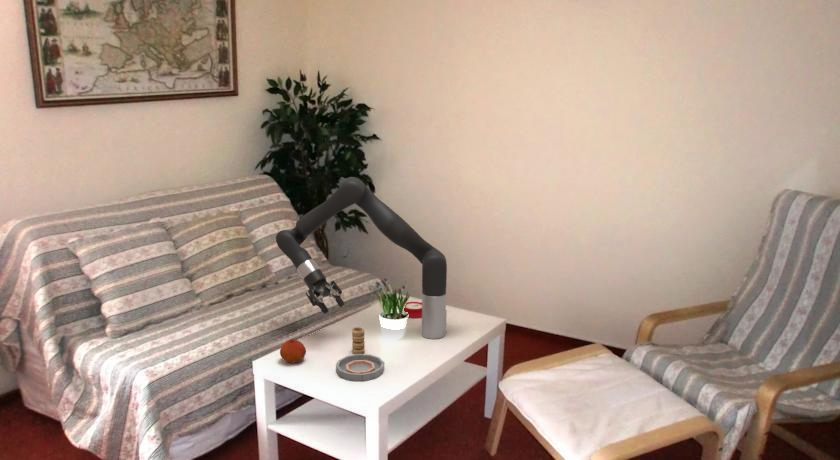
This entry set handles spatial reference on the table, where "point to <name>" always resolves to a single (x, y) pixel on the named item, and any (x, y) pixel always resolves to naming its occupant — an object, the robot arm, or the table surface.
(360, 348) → the bead stack
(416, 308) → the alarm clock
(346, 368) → the round tray
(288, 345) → the fruit
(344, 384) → the table surface
